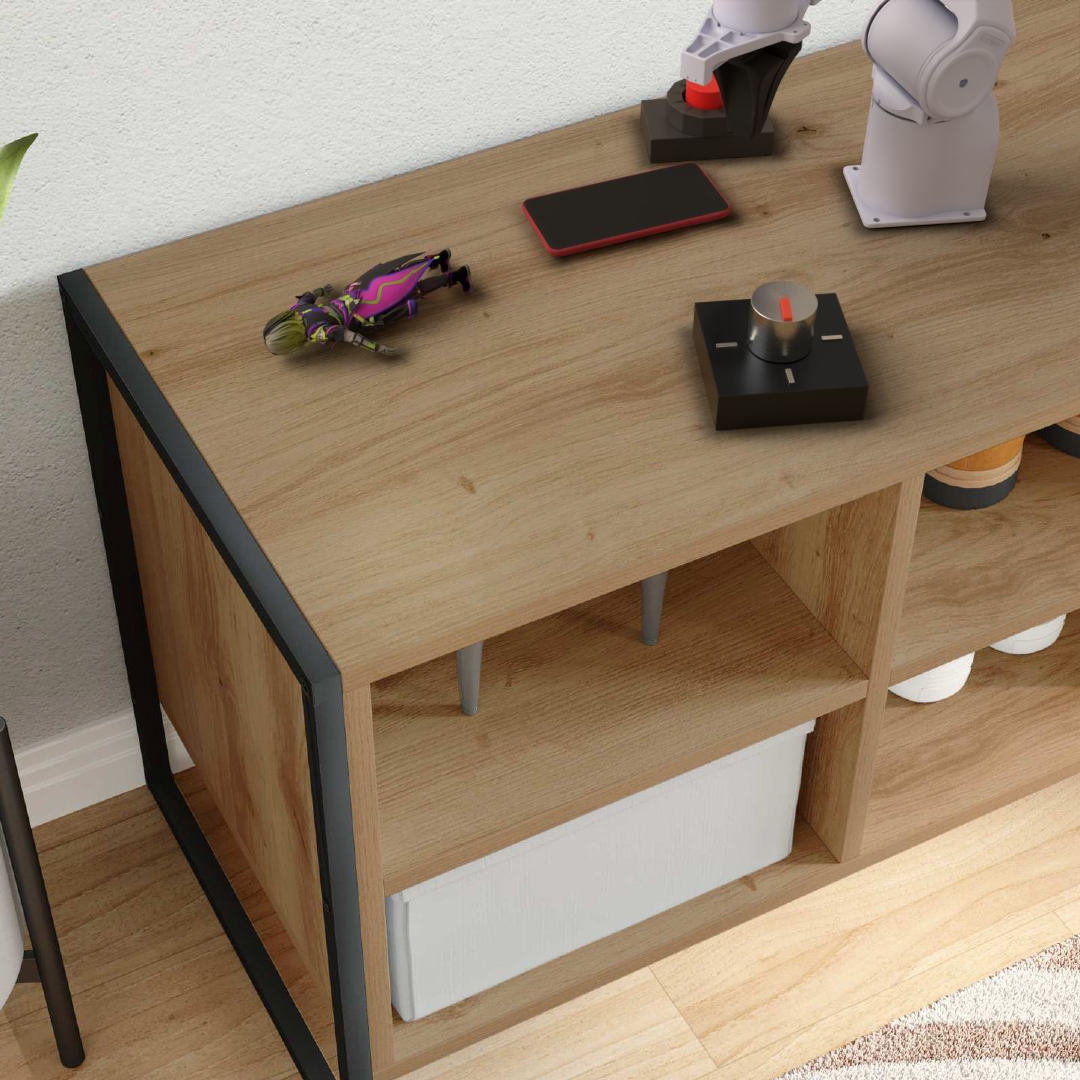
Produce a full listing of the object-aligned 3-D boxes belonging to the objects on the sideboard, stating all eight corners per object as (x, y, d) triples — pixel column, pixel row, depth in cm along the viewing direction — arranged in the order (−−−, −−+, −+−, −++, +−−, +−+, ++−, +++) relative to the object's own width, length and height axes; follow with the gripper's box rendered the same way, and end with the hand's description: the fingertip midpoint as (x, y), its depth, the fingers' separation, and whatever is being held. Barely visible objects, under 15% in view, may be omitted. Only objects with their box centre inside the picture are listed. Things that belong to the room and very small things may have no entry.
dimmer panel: (830, 326, 112) (836, 290, 110) (863, 419, 106) (869, 383, 103) (692, 335, 112) (694, 300, 110) (715, 430, 105) (718, 394, 103)
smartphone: (518, 200, 122) (695, 159, 125) (518, 209, 123) (695, 169, 126) (551, 253, 117) (734, 209, 121) (551, 263, 118) (733, 219, 121)
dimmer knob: (743, 322, 108) (748, 277, 105) (808, 321, 108) (814, 276, 105) (749, 363, 105) (754, 318, 102) (815, 362, 105) (822, 317, 102)
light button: (726, 86, 128) (727, 67, 127) (734, 110, 126) (735, 90, 124) (682, 89, 128) (683, 70, 127) (689, 113, 125) (690, 93, 124)
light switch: (758, 114, 132) (762, 70, 129) (772, 157, 127) (777, 113, 124) (639, 121, 131) (641, 78, 128) (650, 165, 127) (652, 121, 124)
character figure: (424, 255, 120) (236, 328, 113) (423, 213, 117) (229, 285, 110) (494, 317, 114) (300, 397, 108) (494, 275, 112) (295, 354, 105)
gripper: (749, 11, 97) (733, 196, 107) (871, -75, 105) (845, 106, 115) (657, -22, 101) (650, 161, 110) (782, -103, 108) (764, 75, 118)
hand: (744, 131), depth 113 cm, fingers closed
